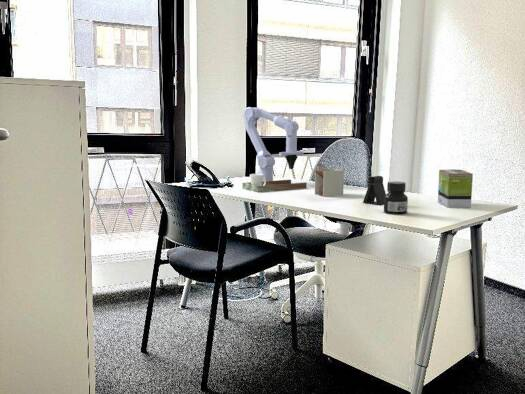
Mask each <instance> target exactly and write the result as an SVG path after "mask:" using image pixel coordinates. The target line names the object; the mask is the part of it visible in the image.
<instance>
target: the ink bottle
mask: <svg viewBox="0 0 525 394" xmlns="http://www.w3.org/2000/svg"><path fill="white" fill-rule="evenodd" d="M406 183H407V182H405V181H388V182H387V185H386V186H387V187H386V188H387V190H386V191H387V193H386V195H385V196H384V205H383V212H384V213H385V214H390V215H406V214H407V213H408V204H409V203H408V202H409V201H408V200H409V199H408V196H407V194H406V193H405V192H406V187H407V186H406Z"/></svg>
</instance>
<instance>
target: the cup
mask: <svg viewBox="0 0 525 394" xmlns="http://www.w3.org/2000/svg"><path fill="white" fill-rule="evenodd" d="M263 177H264V176H263V174H257V173H251V174H249V178H250V179H249V180H250V182H251V185H256V186H262V181H263ZM265 184H266V179H265V177H264V185H263V186H265Z"/></svg>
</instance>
